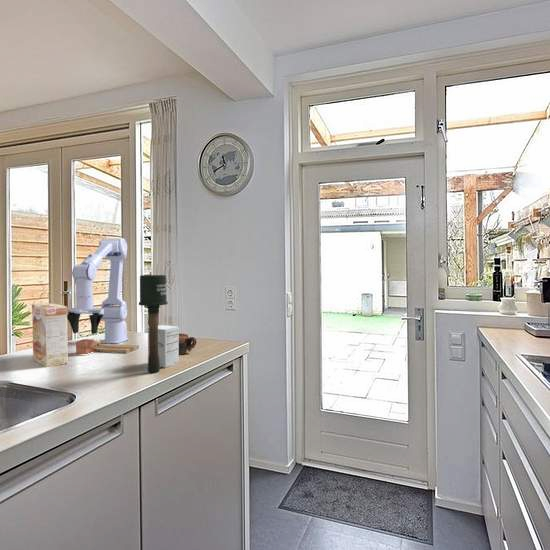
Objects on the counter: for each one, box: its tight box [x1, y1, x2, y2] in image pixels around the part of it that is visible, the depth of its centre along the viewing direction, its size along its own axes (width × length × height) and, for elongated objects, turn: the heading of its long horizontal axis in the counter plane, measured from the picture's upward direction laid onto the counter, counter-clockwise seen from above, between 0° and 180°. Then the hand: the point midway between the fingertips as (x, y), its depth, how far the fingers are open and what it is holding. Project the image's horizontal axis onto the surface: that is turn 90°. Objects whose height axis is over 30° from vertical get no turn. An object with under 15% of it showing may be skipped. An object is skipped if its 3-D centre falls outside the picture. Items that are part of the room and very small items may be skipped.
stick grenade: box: [138, 274, 168, 374], centre depth 128 cm, size 8×9×30 cm
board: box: [94, 343, 140, 354], centre depth 160 cm, size 9×18×1 cm, turn 80°
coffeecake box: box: [31, 302, 69, 368], centre depth 141 cm, size 15×7×20 cm, turn 45°
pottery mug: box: [179, 333, 197, 355], centre depth 156 cm, size 12×10×8 cm
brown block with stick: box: [75, 338, 101, 355], centre depth 157 cm, size 11×4×5 cm, turn 170°
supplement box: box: [147, 324, 180, 369], centre depth 137 cm, size 7×7×13 cm
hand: (84, 333), depth 153 cm, fingers open, 7 cm apart
